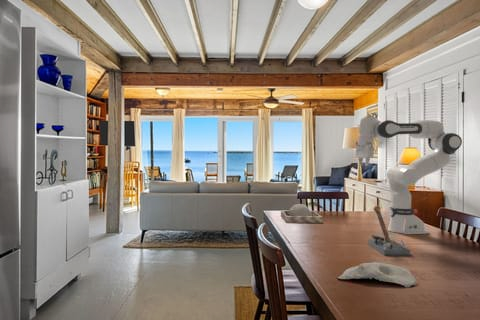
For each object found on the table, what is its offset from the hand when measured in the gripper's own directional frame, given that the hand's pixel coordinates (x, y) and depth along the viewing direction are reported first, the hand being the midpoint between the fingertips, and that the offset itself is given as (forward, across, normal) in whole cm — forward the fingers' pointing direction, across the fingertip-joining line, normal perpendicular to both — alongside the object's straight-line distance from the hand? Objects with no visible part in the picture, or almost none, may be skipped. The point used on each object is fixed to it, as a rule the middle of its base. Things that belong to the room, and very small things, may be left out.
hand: (363, 165), depth 216 cm
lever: (+37, -44, 0) cm, 58 cm away
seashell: (+41, +38, +28) cm, 62 cm away
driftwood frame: (+40, +37, +28) cm, 62 cm away
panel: (+40, -40, -1) cm, 57 cm away
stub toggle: (+37, -48, -5) cm, 61 cm away
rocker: (+36, -34, +2) cm, 50 cm away
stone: (+44, -80, +20) cm, 94 cm away
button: (+37, -34, -4) cm, 51 cm away
